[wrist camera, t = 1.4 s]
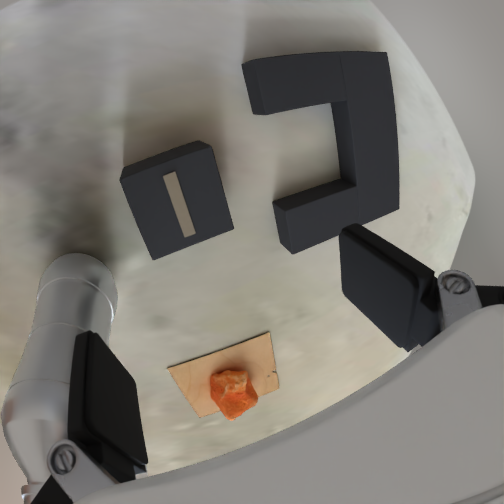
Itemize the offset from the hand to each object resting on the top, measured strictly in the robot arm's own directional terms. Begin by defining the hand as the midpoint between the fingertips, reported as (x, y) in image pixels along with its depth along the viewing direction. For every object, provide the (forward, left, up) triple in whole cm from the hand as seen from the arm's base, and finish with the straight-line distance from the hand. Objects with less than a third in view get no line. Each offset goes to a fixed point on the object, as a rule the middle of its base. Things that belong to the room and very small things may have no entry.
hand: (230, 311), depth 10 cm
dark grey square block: (-1, 0, -14) cm, 14 cm away
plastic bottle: (+3, -10, -14) cm, 18 cm away
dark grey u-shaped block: (-1, +14, -14) cm, 20 cm away
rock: (+23, -2, -14) cm, 28 cm away
